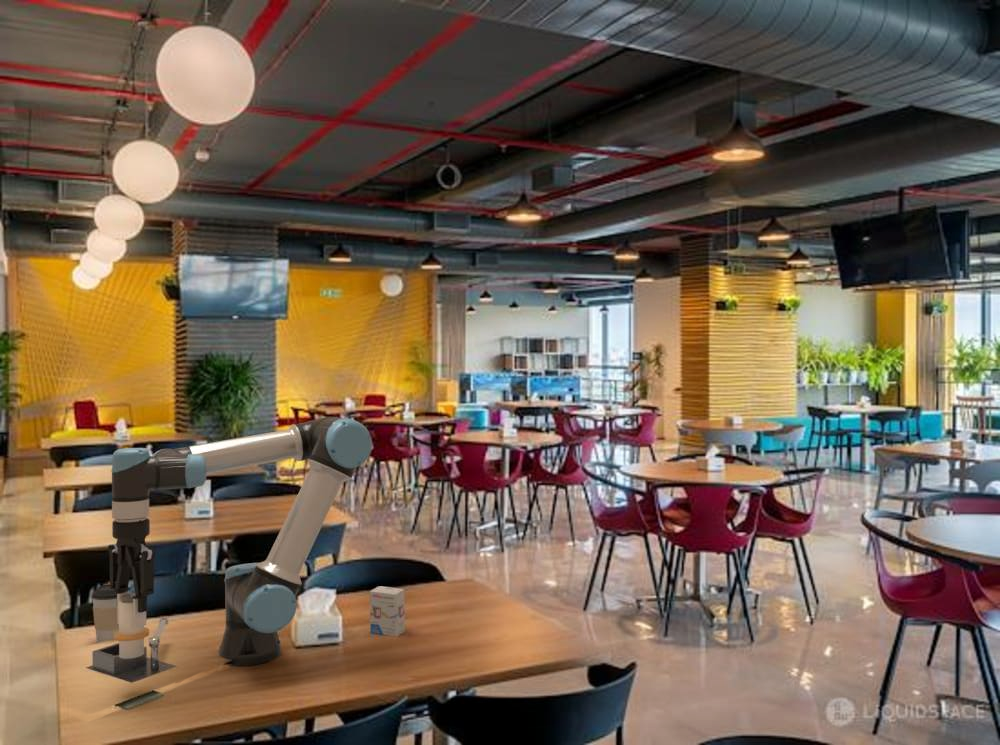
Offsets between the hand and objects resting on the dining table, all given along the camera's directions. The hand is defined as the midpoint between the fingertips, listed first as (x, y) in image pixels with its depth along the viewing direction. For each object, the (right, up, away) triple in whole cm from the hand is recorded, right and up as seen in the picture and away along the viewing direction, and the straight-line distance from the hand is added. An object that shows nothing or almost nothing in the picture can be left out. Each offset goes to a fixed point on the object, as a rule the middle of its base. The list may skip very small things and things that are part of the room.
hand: (131, 624), depth 185 cm
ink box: (+50, -16, +44) cm, 69 cm away
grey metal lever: (-3, -9, +23) cm, 25 cm away
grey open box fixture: (-7, -16, +15) cm, 23 cm away
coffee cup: (-22, -16, +38) cm, 47 cm away
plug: (0, -7, 0) cm, 7 cm away
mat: (0, -16, 0) cm, 16 cm away
